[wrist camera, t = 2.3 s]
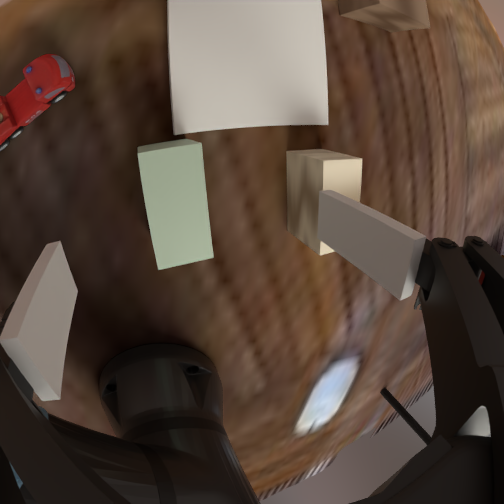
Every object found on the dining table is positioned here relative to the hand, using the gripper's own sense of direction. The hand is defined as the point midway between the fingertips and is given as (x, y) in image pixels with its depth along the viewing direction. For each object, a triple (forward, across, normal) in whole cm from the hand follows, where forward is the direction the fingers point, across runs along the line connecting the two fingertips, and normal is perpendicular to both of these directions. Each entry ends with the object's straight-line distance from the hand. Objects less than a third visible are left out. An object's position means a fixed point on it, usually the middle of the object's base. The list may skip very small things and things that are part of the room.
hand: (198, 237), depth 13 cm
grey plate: (+12, -8, -12) cm, 18 cm away
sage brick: (+12, 0, 0) cm, 12 cm away
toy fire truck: (+12, +13, -9) cm, 20 cm away
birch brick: (+12, -13, +2) cm, 17 cm away
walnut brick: (+12, -22, -19) cm, 31 cm away
